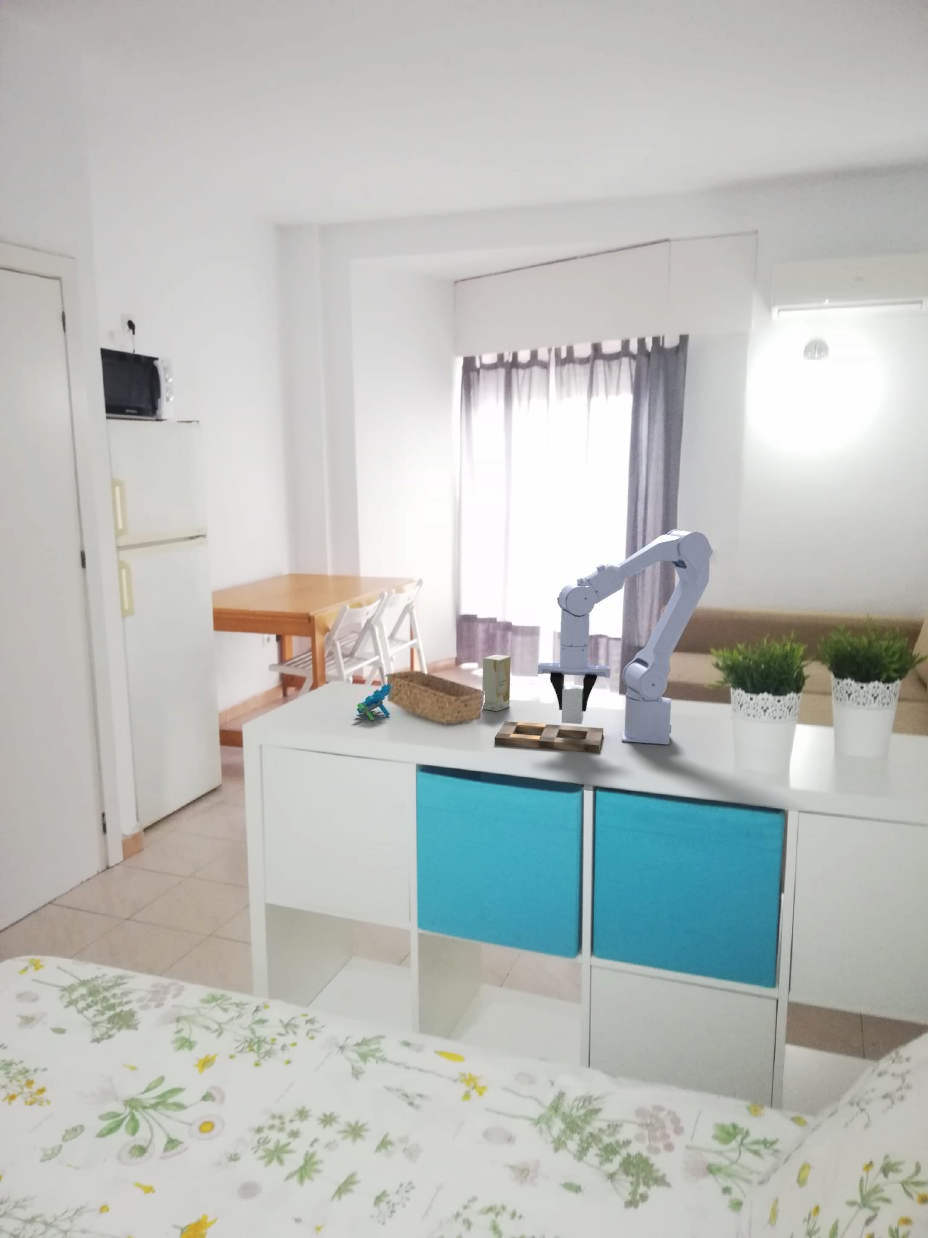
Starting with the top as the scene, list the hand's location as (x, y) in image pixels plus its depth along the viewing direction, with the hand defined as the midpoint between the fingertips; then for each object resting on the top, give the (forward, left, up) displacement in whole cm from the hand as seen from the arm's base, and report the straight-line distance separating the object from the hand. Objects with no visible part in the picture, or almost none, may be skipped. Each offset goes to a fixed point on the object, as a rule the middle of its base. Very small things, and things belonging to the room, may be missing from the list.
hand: (572, 709), depth 174 cm
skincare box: (+20, -22, -7) cm, 31 cm away
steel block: (0, 0, -2) cm, 2 cm away
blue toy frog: (+46, -9, -7) cm, 47 cm away
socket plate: (+5, 0, -7) cm, 8 cm away
